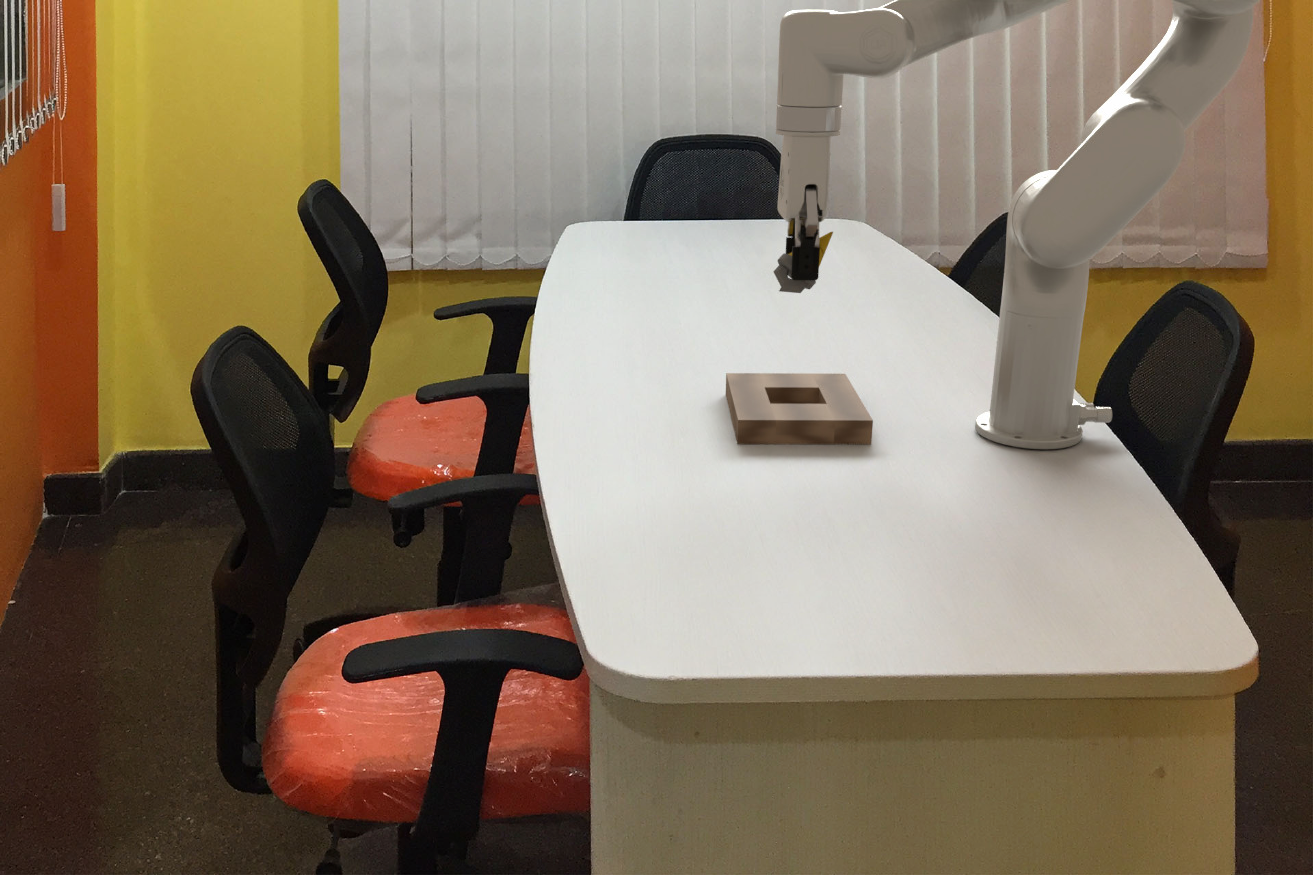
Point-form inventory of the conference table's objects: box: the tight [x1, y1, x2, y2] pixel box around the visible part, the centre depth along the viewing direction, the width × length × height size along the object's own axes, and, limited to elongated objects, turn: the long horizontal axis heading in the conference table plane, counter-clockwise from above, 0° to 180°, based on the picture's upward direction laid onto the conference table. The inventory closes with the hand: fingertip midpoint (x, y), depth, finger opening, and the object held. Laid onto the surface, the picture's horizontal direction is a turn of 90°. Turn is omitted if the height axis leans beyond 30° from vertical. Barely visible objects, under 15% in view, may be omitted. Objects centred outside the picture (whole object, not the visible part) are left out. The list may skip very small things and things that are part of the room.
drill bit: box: [772, 231, 834, 294], centre depth 147 cm, size 5×5×10 cm
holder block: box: [725, 372, 874, 445], centre depth 152 cm, size 16×20×3 cm
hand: (801, 273), depth 147 cm, fingers closed on drill bit, 5 cm apart
